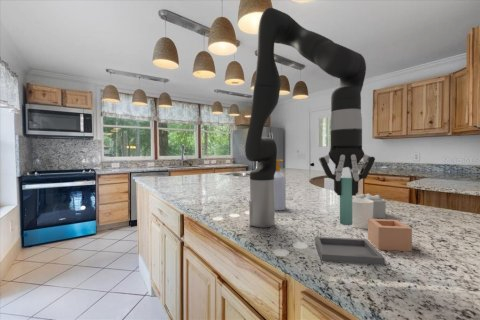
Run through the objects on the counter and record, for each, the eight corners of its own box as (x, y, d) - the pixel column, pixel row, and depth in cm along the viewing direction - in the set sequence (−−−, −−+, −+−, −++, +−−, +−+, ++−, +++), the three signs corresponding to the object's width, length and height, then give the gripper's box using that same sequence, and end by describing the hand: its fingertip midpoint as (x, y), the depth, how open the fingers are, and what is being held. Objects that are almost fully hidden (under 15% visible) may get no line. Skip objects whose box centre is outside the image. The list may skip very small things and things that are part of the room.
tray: (321, 264, 57) (321, 254, 57) (315, 245, 69) (315, 236, 69) (384, 268, 55) (384, 258, 55) (366, 247, 66) (366, 239, 66)
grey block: (362, 218, 95) (363, 197, 95) (349, 210, 108) (349, 192, 108) (389, 218, 95) (389, 197, 94) (372, 210, 108) (372, 192, 107)
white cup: (377, 232, 79) (377, 203, 78) (351, 231, 80) (351, 202, 80) (369, 225, 86) (369, 198, 86) (346, 224, 88) (346, 197, 88)
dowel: (341, 225, 60) (341, 178, 60) (338, 221, 63) (338, 177, 63) (353, 225, 60) (353, 178, 59) (350, 222, 63) (350, 177, 62)
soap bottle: (275, 212, 107) (275, 160, 106) (264, 207, 116) (263, 159, 115) (290, 209, 111) (290, 159, 110) (278, 205, 119) (278, 159, 119)
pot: (378, 252, 63) (378, 227, 63) (367, 241, 71) (367, 218, 71) (411, 254, 62) (411, 228, 61) (396, 243, 70) (397, 219, 69)
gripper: (319, 128, 58) (320, 197, 59) (381, 126, 56) (381, 198, 56) (315, 131, 66) (316, 192, 66) (369, 129, 63) (369, 193, 64)
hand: (346, 194), depth 61 cm, fingers closed on dowel, 3 cm apart
